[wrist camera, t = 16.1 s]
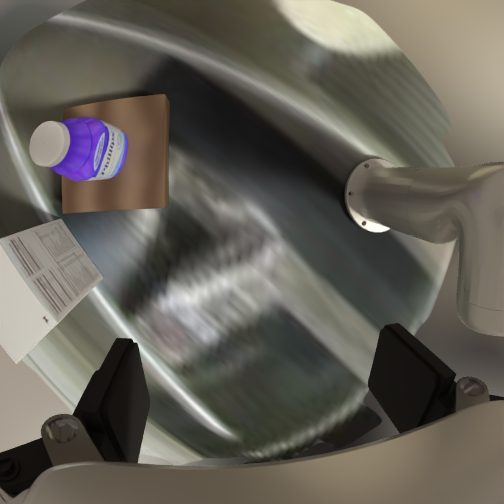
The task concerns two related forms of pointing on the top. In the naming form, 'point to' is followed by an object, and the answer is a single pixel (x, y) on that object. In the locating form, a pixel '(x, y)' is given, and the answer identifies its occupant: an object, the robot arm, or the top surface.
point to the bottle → (80, 148)
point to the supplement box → (40, 283)
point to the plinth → (127, 157)
